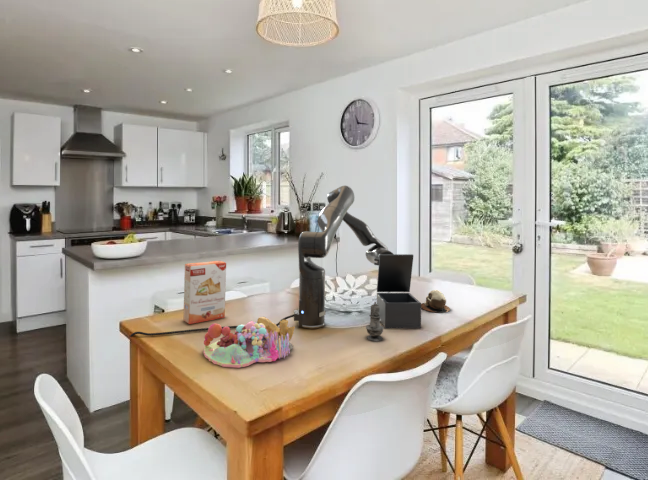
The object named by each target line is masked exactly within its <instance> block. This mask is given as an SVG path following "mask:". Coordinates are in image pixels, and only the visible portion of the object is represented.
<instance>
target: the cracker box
mask: <svg viewBox="0 0 648 480" xmlns="http://www.w3.org/2000/svg"><path fill="white" fill-rule="evenodd" d="M226 283H227V262H226V261H222V260H214V261H213V260H212V261H211V260H210V261H200V262H190V263H185V264H184V283H183V316H182V317H183V321H184V322H185V323H186V324H188V325H192V324H198V323H204V322H208V321H213V320H220V319H224V318H226V288H227V287H226V285H227V284H226Z"/></svg>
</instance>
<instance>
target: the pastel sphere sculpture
mask: <svg viewBox="0 0 648 480" xmlns="http://www.w3.org/2000/svg"><path fill="white" fill-rule="evenodd" d="M281 320H282V319H281ZM279 321H280V320H279ZM276 324H277V323H274V322H272V321H271V320H270V319H269V318H267V317H265V316H259V317H258V318H257V320H256V321H253V320H250V321H248V322H247V323H246V324H238V325H236V326H237V328H235V330H234V333H233V332H232V330H231V328H229V327H225V326H222V325H221V324H219V323H215V322H214V323H212V324H210V325H209V327H207V328H208V330H207V332H206V333H205V334H204V340H203V345H204V348H203V356H204V358H206V359H208V361H209V362H212V364H214V365H217V366H220V367H223V368H240V369H241V368H246V367H249V366H250V365H253V364H254V363H266V362H267V363H271V362H276V361H277V360H278V359H279V360H281V359H286V356H287V357H288V355H290V353H291V350H292V349H293V348H294V345H293V342H290V341H291V340H292V337H293V335H294V334H295V333H294V332H295V328H296V326H288V325H289V320H288V319H286V320H282V321H280V325H278V326H277V325H276ZM222 327H224V328H223V329H222ZM221 336H222V337H221ZM218 338H220V339H219V340H217V341H214V342H212V341H213V340H214V339H218ZM211 342H212V343H211Z"/></svg>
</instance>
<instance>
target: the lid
mask: <svg viewBox="0 0 648 480" xmlns="http://www.w3.org/2000/svg"><path fill="white" fill-rule="evenodd" d="M413 262H414V254H411V253H410V254H409V253H408V254H405V253H404V254H402V253H397V254H396V253H393V254H380V256H379V266H378V267H377V268H378V271H377V281H376V293H410V292H411V283H412V282H411V281H412V275H413V264H414V263H413Z"/></svg>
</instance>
